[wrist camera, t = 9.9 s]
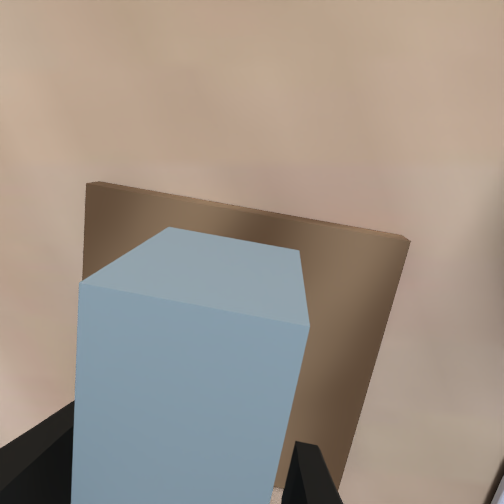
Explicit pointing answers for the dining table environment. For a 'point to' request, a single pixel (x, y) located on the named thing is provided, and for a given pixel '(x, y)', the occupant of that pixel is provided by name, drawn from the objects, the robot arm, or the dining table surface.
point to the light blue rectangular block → (187, 371)
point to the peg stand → (316, 290)
